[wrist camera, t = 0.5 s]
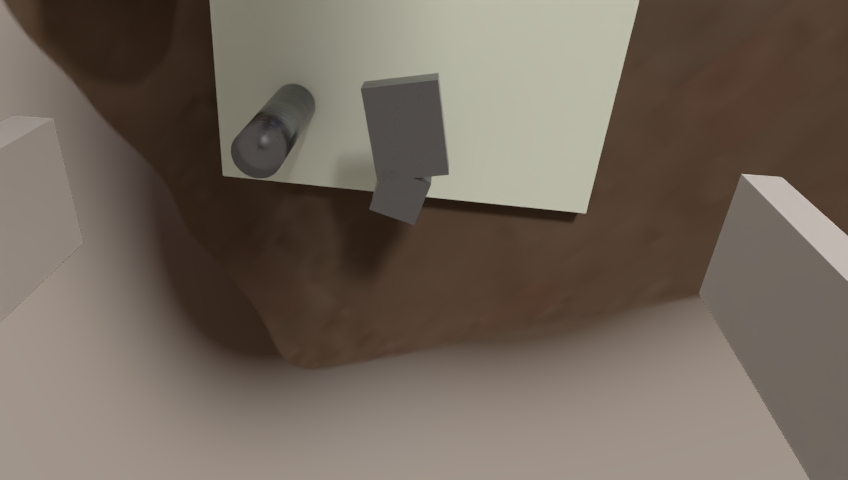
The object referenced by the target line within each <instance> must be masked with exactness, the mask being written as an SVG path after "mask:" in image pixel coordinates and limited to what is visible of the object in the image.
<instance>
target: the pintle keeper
mask: <svg viewBox="0 0 848 480" xmlns="http://www.w3.org/2000/svg"><path fill="white" fill-rule="evenodd" d="M361 93H362V99H363V104H364V110H365V116H366V121H367V127H368V132H369V138H370V144H371V149H372V155H373V161H374V166H375V172H376V177H377V182H376V186H375V189H374V193H373V197H372V200H371V204H370V208H369V210H372V211H375V212H378V213H380V214H383V215H386V216H389V217H392V218H395V219H398V220H401V221H403V222H406V223H409V224H412V225H414V224H415V222H416V220H417V217H418V215H419V212H420V210H421V208H422V205H423V203H424V200H425V198H426V195H427V193H428V191H429V188H430V186H431V178H432V176H442V175H449V159H448V151H447V142H446V133H445V124H444V116H443V107H442V98H441V89H440V81H439V73H433V74H425V75H416V76H407V77H399V78H390V79H381V80H373V81H364V83H363V85H362V87H361ZM314 112H315V100H314V98H313V96H312V94H311V93H310V92H309V91H308V90H307V89H306V88H305V87H303V86H301V85H298V84H286V85H284V86H282V87H281V88H279V90H278V91H277V92H276V93H275V94H274V95H273V96H272V97H271V98H270V100H269V101H268V102H267V103H266V104H265V105H264V106H263V107H262V108H261V110H260V111H259V112H258V113H257V114H256V115H255V116H254V117H253V119H252V120H251V121H250V122H249V123H248V124H247V125H246V126H245V127H244V129H243V130H242V131H241V132H240V133H239V134H238V135H237V136H236V137H235V139H234V140H233V142H232V145H231V156H232V159H233V162H234V164H235V165H236V166H237V168H238V169H239V170H240V171H241V172H243V173H244V174H246V175H248V176H250V177H253V178H260V179H261V178H267V177H270V176H272V175H274V174H275V173H276V172H277V171H278V170H279V168H280V167H281V165H282V164H283V162H284V160H285V159H286V157H287V156H288V154H289V153H290V151H291V149H292V148H293V146H294V145H295V143H296V142H297V140H298V138H299V137H300V135H301V134H302V132H303V131H304V129H305V127H306V126H307V124H308V123H309V121H310V120H311V118H312V116H313V115H314Z"/></svg>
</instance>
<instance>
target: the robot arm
mask: <svg viewBox="0 0 848 480" xmlns="http://www.w3.org/2000/svg"><path fill="white" fill-rule="evenodd" d="M82 244H83V238H82V234H81V230H80V226H79V222H78V217H77V214H76V209H75V205H74V201H73V197H72V193H71V189H70V185H69V181H68V176H67V172H66V168H65V164H64V160H63V156H62V152H61V148H60V144H59V139H58V135H57V131H56V127H55V123H54V119H53V118H45V117H33V116H19V115H13V116H11V117H9V118H7V119H5V120H3V121H1V122H0V322H1V321H2V320H3V319H4V318H5V317H6V316H7V315H8V314H9V313H10V312H11V311H13V310H14V309H15V308H16V307H17V306H18V305H19V304H20V303H21V302H22V301H23V300H24V299H25V298H26V297H27V296H28V295H29V294H30V293H31V292H32V291H34V290H35V289H36V288H37V287H38V286H39V285H40V284H41V283H42V282H43V281H44V280H45V279H46V278H47V277H48V276H49V275H50V274H51V273H52V272H53V271H54V270H56V269H57V268H58V267H59V266H60V265H61V264H62V263H63V262H64V261H65V260H66V259H67V258H68V257H69V256H70V255H71V254H72V253H73V252H74V251H75V250H76V249H78V247H80V246H81V245H82ZM699 294H700V296H701V297H702V299H703V301H704V302H705V304H706V306H707V308H708V309H709V311H710V313H711V314H712V316H713V318H714V319H715V320H716V323H717V324H718V326H719V328H720V329H721V331H722V333H723V334H724V336H725V338H726V339H727V341H728V343H729V344H730V346H731V348H732V350H733V351H734V353H735V354H736V356H737V358H738V359H739V361H740V363H741V364H742V366H743V368H744V369H745V371H746V373H747V375H748V376H749V378H750V380H751V381H752V383H753V385H754V386H755V388H756V390H757V392H758V393H759V395H760V396H761V398H762V400H763V402H764V403H765V405H766V407H767V408H768V410H769V412H770V413H771V415H772V417H773V418H774V420H775V421H776V423H777V425H778V427H779V429H780V430H781V432H782V434H783V435H784V437H785V439H786V440H787V442H788V444H789V445H790V447H791V449H792V450H793V452H794V454H795V455H796V457H797V459H798V460H799V462H800V464H801V465H802V467H803V469H804V470H805V472H806V474H807V476H808V477H809V479H810V480H848V236H847V235H846V234H845V233H844V232H843V231H841V230H840V229H839V228H838V227H837V226H836V225H835V224H834V223H832V222H831V221H830V220H829V219H828V218H827V217H826V216H825V215H824V214H822V213H821V212H820V211H819V210H818V209H817V208H816V207H815V206H813V205H812V204H811V203H810V202H809V201H808V200H807V199H806V198H805V197H803V196H802V195H801V194H800V193H799V192H798V191H797V190H796V189H794V188H793V187H792V186H791V185H790V184H789V183H788V182H787V181H786V180H784V179H783V178H782V177H773V176H761V175H748V174H741V177H740V179H739V182H738V185H737V188H736V191H735V193H734V196H733V199H732V202H731V205H730V208H729V210H728V213H727V216H726V219H725V222H724V224H723V227H722V230H721V233H720V236H719V239H718V241H717V244H716V247H715V250H714V253H713V255H712V258H711V261H710V264H709V267H708V270H707V272H706V275H705V278H704V281H703V284H702V286H701V289H700V292H699Z"/></svg>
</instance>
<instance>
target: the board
mask: <svg viewBox="0 0 848 480" xmlns="http://www.w3.org/2000/svg"><path fill="white" fill-rule="evenodd" d="M209 1H210V14H211V27H212V40H213V54H214V67H215V80H216V93H217V106H218V120H219V133H220V146H221V159H222V172H223V176H229V177H239V178H248V179H258V180H268V181H277V182H287V183H297V184H306V185H316V186H326V187H335V188H345V189H355V190H364V191H374V189H375V186H376V182H377V177H376V172H375V166H374V161H373V155H372V149H371V144H370V138H369V132H368V127H367V121H366V116H365V110H364V104H363V99H362V93H361V87H362V85H363V83H364V81H373V80H381V79H390V78H399V77H407V76H416V75H425V74H433V73H439V81H440V89H441V98H442V107H443V116H444V124H445V133H446V142H447V151H448V159H449V175H442V176H432V178H431V186H430V188H429V191H428V193H427V195H426V197H432V198H442V199H451V200H461V201H471V202H480V203H490V204H500V205H509V206H519V207H529V208H538V209H548V210H558V211H567V212H577V213H586V211H587V207H588V203H589V199H590V195H591V191H592V187H593V183H594V179H595V175H596V171H597V167H598V163H599V159H600V155H601V151H602V147H603V143H604V139H605V135H606V131H607V127H608V123H609V119H610V115H611V111H612V107H613V103H614V99H615V95H616V91H617V87H618V83H619V80H620V76H621V72H622V68H623V64H624V60H625V56H626V52H627V48H628V44H629V40H630V36H631V32H632V28H633V24H634V20H635V16H636V12H637V8H638V4H639V0H209ZM286 84H298V85H301V86H303V87H305V88H306V89H307V90H308V91H309V92H310V93H311V94H312V96H313V98H314V100H315V112H314V115H313V116H312V118H311V120H310V121H309V123H308V124H307V126H306V127H305V129H304V131H303V132H302V134H301V135H300V137H299V138H298V140H297V142H296V143H295V145H294V146H293V148H292V149H291V151H290V153H289V154H288V156H287V157H286V159H285V160H284V162H283V164H282V165H281V167H280V168H279V170H278V171H277V172H276V173H275V174H274V175H272V176H270V177H267V178H261V179H260V178H253V177H250V176H248V175H246V174H244V173H243V172H241V171H240V170H239V169H238V168H237V166H236V165H235V164H234V162H233V159H232V156H231V145H232V142H233V140H234V139H235V137H236V136H237V135H238V134H239V133H240V132H241V131H242V130H243V129H244V127H245V126H246V125H247V124H248V123H249V122H250V121H251V120H252V119H253V117H254V116H255V115H256V114H257V113H258V112H259V111H260V110H261V108H262V107H263V106H264V105H265V104H266V103H267V102H268V101H269V100H270V98H271V97H272V96H273V95H274V94H275V93H276V92H277V91H278V90H279V88H281V87H282V86H284V85H286Z"/></svg>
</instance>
